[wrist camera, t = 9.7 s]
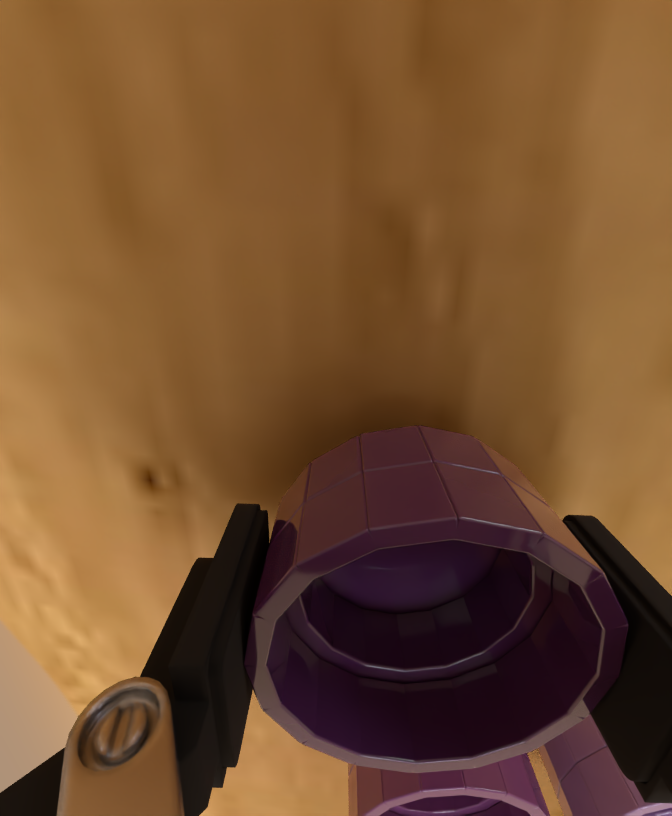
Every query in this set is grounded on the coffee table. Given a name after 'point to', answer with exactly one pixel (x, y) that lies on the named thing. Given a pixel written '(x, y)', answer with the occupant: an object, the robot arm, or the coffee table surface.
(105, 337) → the coffee table surface
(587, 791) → the lilac dish
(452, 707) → the aubergine dish
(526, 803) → the plum dish
